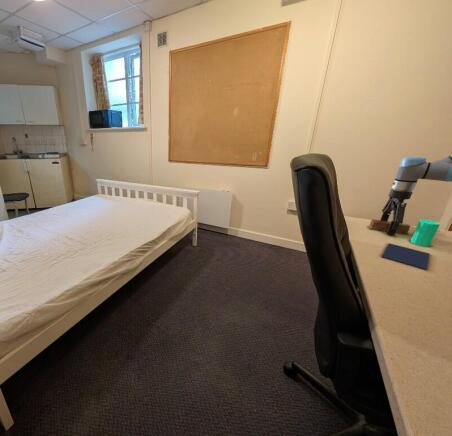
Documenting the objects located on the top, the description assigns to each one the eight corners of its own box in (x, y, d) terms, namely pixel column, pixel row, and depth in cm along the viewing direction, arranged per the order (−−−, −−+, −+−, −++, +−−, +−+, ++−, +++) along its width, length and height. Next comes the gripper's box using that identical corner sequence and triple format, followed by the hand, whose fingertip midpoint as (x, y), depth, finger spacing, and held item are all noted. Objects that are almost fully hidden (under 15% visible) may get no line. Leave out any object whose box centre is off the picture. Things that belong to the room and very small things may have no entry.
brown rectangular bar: (404, 231, 112) (408, 223, 110) (407, 234, 109) (411, 226, 107) (368, 226, 119) (371, 219, 117) (370, 229, 115) (373, 221, 114)
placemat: (388, 244, 100) (389, 243, 99) (428, 254, 91) (429, 253, 91) (381, 257, 89) (381, 256, 89) (426, 270, 80) (426, 269, 80)
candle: (411, 239, 104) (421, 215, 100) (430, 243, 100) (442, 219, 95) (409, 242, 101) (420, 218, 96) (429, 247, 96) (441, 222, 92)
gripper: (383, 184, 118) (370, 221, 126) (400, 194, 98) (383, 237, 106) (402, 186, 115) (387, 223, 122) (424, 196, 94) (405, 240, 102)
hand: (385, 230), depth 114 cm, fingers open, 13 cm apart
